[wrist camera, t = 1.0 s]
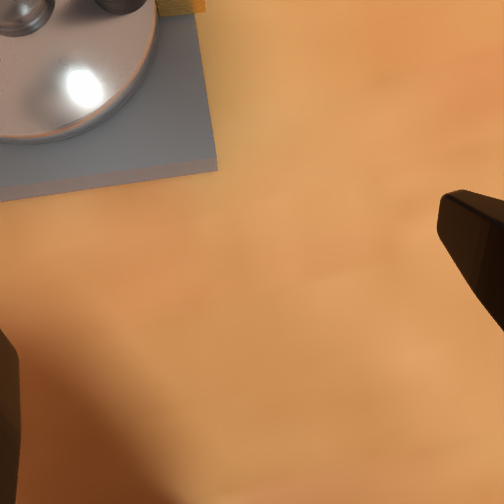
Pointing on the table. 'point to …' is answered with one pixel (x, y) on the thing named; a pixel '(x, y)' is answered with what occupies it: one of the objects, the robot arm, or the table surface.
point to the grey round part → (74, 62)
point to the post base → (129, 131)
